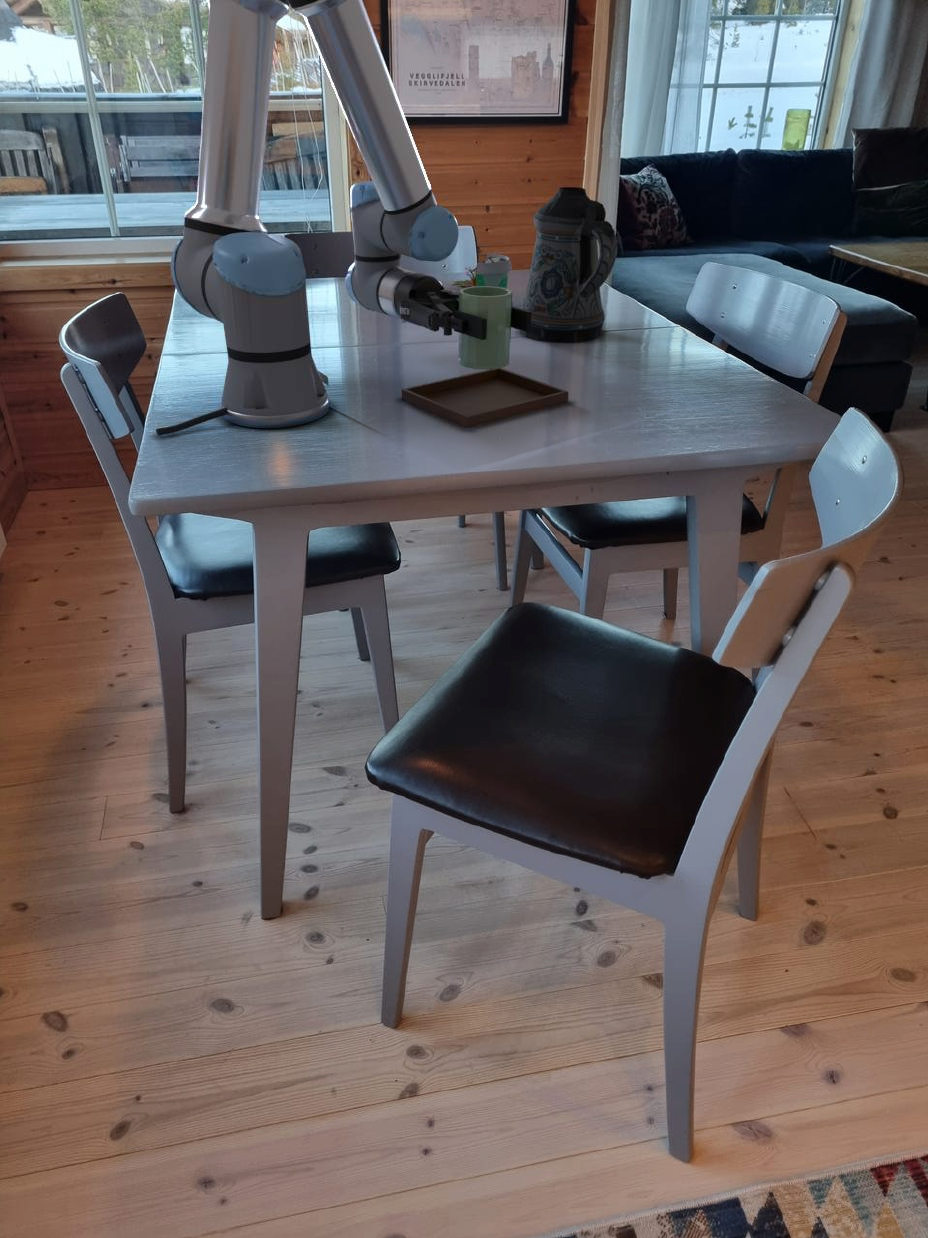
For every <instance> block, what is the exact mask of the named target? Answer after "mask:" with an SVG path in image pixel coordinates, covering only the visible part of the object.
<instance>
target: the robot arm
mask: <svg viewBox="0 0 928 1238" xmlns="http://www.w3.org/2000/svg"><path fill="white" fill-rule="evenodd" d="M206 1H207V3H208V7H209V9H208V10H209V11H208V24H207V25H208V26H207V40H206V53H205V54H206V55H205V70H204V71H205V72H204V74H205V75H204V86H203V87H204V89H203V102H202V103H203V104H202V116H201V117H202V119H201V132H200V146H199V147H200V149H199V163H198V180H197V194H196V203H195V204H194V206H192V207H191V208H190V209H189V210H187V211H186V212H185V213H184V221H183V233H182V235H183V236H182V238H180V240H179V241H178V242H177V243H176V245H175V247H174V249H173V250H172V253H171V259H170V274H171V280H172V282H173V285H174V287H175V289H176V291H177V293H178V295H179V296H180V298H182V299H183V301H184V302H185V303H186V304H187V305H189V306H190V307H191V308H192V309H193V310H194V311H195V312H197V313H198V314H200V315H202V316H204V317H206V318H208V319H213V320H215V321H217V322H219V323H222V324H223V331H224V338H225V339H224V340H225V346H226V352H227V361H228V362H227V368H226V373H225V379H224V384H223V385H224V386H223V390H222V394H221V395H222V396H221V401H220V403H221V408H220V409H217V410H214V411H211V412H208V413H204V414H202V415H199V416H196V417H194V418H190V419H188V420H186V421H183V422H180V423H176V424H173V425H170V426H163V427H159V428H155V433H156V435H157V436H158V437H159V436H164V435H170V434H174V433H178V432H181V431H184V430H187V429H190V428H193V427H194V426H198V425H200V424H202V423H206V422H209V421H211V420H215V419H218V418H220V417H223V418H224V419H225V420H226V421H228V422H230V423H232V424H234V425H237V426H242V427H245V428H246V427H248V428H254V429H255V428H256V429H279V428H288V427H293V426H295V427H296V426H301V425H304V424H309V423H311V422H314V421H316V420H319V419H321V418H322V417H324V416H325V415H326V414H327V413H329V410H330V403H329V395H328V392H327V390H326V387H325V385H326V386H328V387H329V386H330V385H329V377H328V376H327V375H325V373H323V372H321V371H320V370H318V368H317V365H316V364H315V360H314V358H313V353H312V343H311V330H310V317H309V307H308V295H307V294H308V293H307V284H306V283H307V282H306V280H307V272H306V267H305V263H304V259H303V254H302V250H301V248H300V247H299V245H298V244H297V243H295V241H293V240H291V239H290V238H287V237H286V236H282V235H278V234H269V232H268V229H267V227H266V225H265V224H264V223H263V222H262V220H261V218H260V214H259V213H260V203H261V190H262V181H263V180H262V179H263V169H264V158H265V148H266V136H267V125H268V117H269V105H270V94H271V84H272V83H271V82H272V74H273V73H272V72H273V62H274V61H273V60H274V52H275V51H274V49H275V39H276V28H277V23H278V22H279V21H280V20H281V19H282V18H284V17H285V16H286V15H287V14H288V13H289V12H290V8H291V10H292V11H293V12H295V13H297V14H299V15H301V16H302V17H303V18H304V21H305V23H306V25H307V28H308V30H309V32H310V35H311V37H312V39H313V42H314V45H315V47H316V49H317V51H318V54H319V56H320V59H321V61H322V63H323V66H324V68H325V70H326V73H327V76H328V78H329V80H330V82H331V86H332V88H333V90H334V92H335V94H336V97H337V99H338V103H339V105H340V107H341V109H342V111H343V114H344V116H345V119H346V121H347V123H348V126H349V129H350V131H351V133H352V136H353V138H354V140H355V143H356V145H357V148H358V150H359V153H360V155H361V158H362V160H363V162H364V165H365V167H366V169H367V172H368V174H369V177H370V179H371V180H367V181H359V182H355V183H354V184H353V185H352V186H351V187H350V209H349V213H350V217H351V218H350V219H351V227H352V237H353V238H352V239H353V247H354V250H353V251H354V262H353V263H352V264H351V265H350V266H349V268H348V270H347V273H346V275H345V278H344V279H345V280H344V285H345V291H346V293H347V295H348V297H349V298H350V300H351V301H353V302H354V303H355V304H356V305H357V306H361V308H364V309H366V310H367V311H371V312H376V313H380V314H383V315H386V316H390V317H392V318H396V319H397V320H398V319H399V320H400V322H401V323H402V324H406V323H410V324H412V325H415V326H418V327H423V328H425V329H428V330H430V331H431V332H432V331H433V332H438V331H440V328H442V330H443V336H446V337H448V336H449V337H451V336H452V335H453V331H454V332H456V333H458V334H459V333H462V334H465V335H468V336H471V337H474V338H478V339H481V340H485V339H486V336H487V319H485V318H482V317H478V316H475V315H471V314H468V313H465V312H461V311H459V292H453V290H449V289H445V287H444V286H443V284H442V282H441V281H440V280H439V279H438V278H437V277H436V276H435V277H434V276H432V275H429V274H426V273H425V274H424V273H421V272H418V271H414V270H410V269H406V268H402V256H405V257H409V258H411V259H412V258H413V259H415V260H417V261H420V262H432V263H433V262H434V263H435V262H436V263H437V262H441V261H443V260H445V259H448V257H449V256H450V255H452V254H453V252H454V251H455V249H456V247H457V244H458V241H459V235H460V234H459V232H460V231H459V224H458V220H457V219H456V217H455V215H454V214H453V213H452V212H451V211H450V210H448V209H447V208H445V207H444V206H442V205H439V204H438V203H437V200H436V198H435V195H434V192H433V189H432V187H431V184H430V181H429V180H428V176H427V174H426V170H425V169H424V165H423V163H422V159H421V158H420V155H419V152H418V149H417V147H416V143H415V140H414V137H413V136H412V135H413V134H412V133H411V130H410V128H409V125H408V122H407V118H406V116H405V113H404V110H403V108H402V105H401V102H400V99H399V97H398V94H397V92H396V91H397V90H396V89H395V86H394V83H393V80H392V78H391V75H390V73H389V70H388V67H387V64H386V61H385V59H384V55H383V53H382V50H381V47H380V45H379V42H378V39H377V36H376V34H375V31H374V27H373V25H372V22H371V20H370V18H369V15H368V12H367V8H366V6H365V3H364V1H363V0H206ZM511 329H515V330H518V331H520V330H522V331H525V332H529V331H531V311H527V310H524V309H520V307H516V306H513V305H512V313H511ZM324 384H325V385H324Z"/></svg>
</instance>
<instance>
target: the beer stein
mask: <svg viewBox="0 0 928 1238" xmlns="http://www.w3.org/2000/svg"><path fill="white" fill-rule="evenodd" d="M606 213H607V212H606V208H605V206H604V204H603V203H601V202H599V201H598V200H593V199H590V197H589V196H588V195H587V191H586V188H585V187H578V186H575V187H574V186H563V187H559V188H558V190H557V192H556V193H555V194H554V196H552V197H551V198H550V200H548V201H547V202H546V203H544V205H542V206H541V207H540V208H538V209H537V211H536V212H535V213H534V215H533V225H534V227H535V229H536V235H535V236H536V237H535V241H534V248H533V252H532V253H533V254H532V260H531V265H530V270H529V276H528V282H527V285H526V290H525V293H524V297H523V301H522V303H521V305H520V307H519V308H520V309H524V310H527V311H531V331H529V332H525V331H522V330H519V333H520V334H522V335H523V336H524V337H526V338H529V339H533V340H537V341H540V342H550V343H577V342H578V343H579V342H586V341H587V342H588V341H590V340H595V339H597V338H598V337H600V336H601V333H602V329H603V326H604V323H605V318H606V314H605V310H604V308H603V307H604V306H603V303H602V296H601V287H602V286H603V285H604V283H606V281H607V280H608V278H609V276H610V274H611V272H612V271H613V269H614V266H615V262H616V259H617V255H618V240H617V236H616V233H615V229H614V228H613V225H612V224H611V222H609V221H608V220H606V216H607V215H606ZM598 245H599V247H598ZM598 250H599V251H598Z"/></svg>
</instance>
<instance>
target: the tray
mask: <svg viewBox="0 0 928 1238" xmlns="http://www.w3.org/2000/svg"><path fill="white" fill-rule="evenodd" d="M400 390H401V392H400V393H401V400H402V401H405V402H407V403H409V404H412V405H414V406H416V407H419V408H421V409H423V410H425V411H427V412H430V413H431V414H434V415H437V416H438V417H441V418H442V419H445V420H447V421H450V422H452V423H454V424H457V425H459V426H462V427H464V428H466V429H469V428H474V427H477V426H481V425H485V424H488V423H492V422H497V421H500V420H503V419H507V418H511V417H516V416H520V415H523V414H528V413H530V412H535V411H539V410H541V409H545V408H549V407H550V408H551V407H553V406H557V405H560V404H565V403H568V402H569V390H565V389H562V388H559V387H557V386H554V385H551V384H548V383H545V382H543V381H539V380H536V379H534V378H531V377H529V376H525V375H523V374H519V373H517V372H514V371H511V370H508V369H506V368H504V367H503V368H498V369H484V370H481V371H477V372H472V373H468V374H463V375H459V376H455V377H449V378H445V379H441V380H436V381H431V382H427V383H423V384H418V385H414V386H409V387H405V388H400Z"/></svg>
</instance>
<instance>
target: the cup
mask: <svg viewBox="0 0 928 1238" xmlns="http://www.w3.org/2000/svg"><path fill="white" fill-rule="evenodd" d="M458 293H459V311H461V312H465V313H468V314H471V315H475V316H478V317H482V318H485V319H487V336H486V339H485V340H481V339H478V338H474V337H471V336H468V335H465V334H462V333H459V332H458V363H459V365H461V366H462V367H465V368H469V369H474V370H490V369H498V368H503V369H504V368H505V367H508V366H509V365H510V359H511V338H512V335H511V334H512V332H511V331H512V327H511V313H512V306H513V291H512V290H511V289H509V288H507V289H505V288H501V287H490V286H478V287H469V286H468V288H464V289H459V291H458Z"/></svg>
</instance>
